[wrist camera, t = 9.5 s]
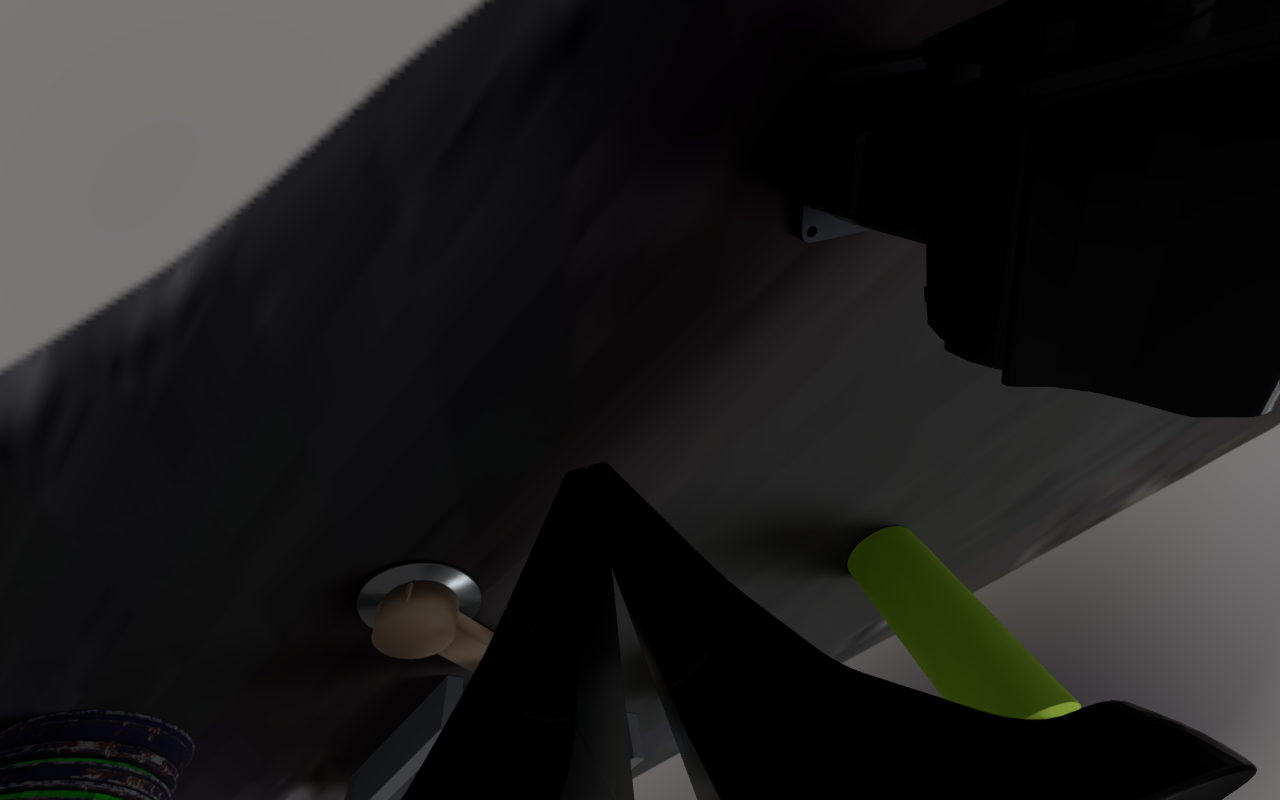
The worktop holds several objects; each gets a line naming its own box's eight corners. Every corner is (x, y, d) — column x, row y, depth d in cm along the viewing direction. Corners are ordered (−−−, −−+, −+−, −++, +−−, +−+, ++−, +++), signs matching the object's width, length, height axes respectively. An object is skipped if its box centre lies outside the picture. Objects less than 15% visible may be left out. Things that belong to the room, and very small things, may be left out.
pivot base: (343, 626, 28) (342, 631, 27) (379, 549, 25) (377, 553, 25) (457, 641, 31) (457, 645, 30) (498, 573, 28) (499, 577, 28)
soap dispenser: (824, 574, 36) (1081, 952, 20) (887, 516, 34) (1236, 883, 18) (864, 591, 39) (1121, 936, 22) (925, 538, 37) (1260, 875, 20)
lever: (364, 605, 27) (266, 894, 17) (423, 569, 26) (359, 842, 16) (555, 708, 37) (566, 925, 27) (599, 683, 37) (628, 894, 26)
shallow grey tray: (448, 675, 32) (440, 729, 29) (636, 714, 41) (644, 758, 38) (350, 776, 36) (335, 833, 33) (541, 792, 45) (543, 838, 42)
